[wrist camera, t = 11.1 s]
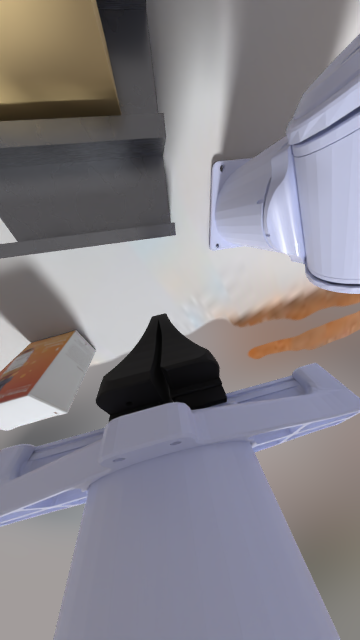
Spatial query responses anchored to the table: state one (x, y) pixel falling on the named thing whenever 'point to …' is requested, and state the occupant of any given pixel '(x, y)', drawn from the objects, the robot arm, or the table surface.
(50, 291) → the table surface
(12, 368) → the small box
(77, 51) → the tan rectangular block
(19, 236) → the rack
